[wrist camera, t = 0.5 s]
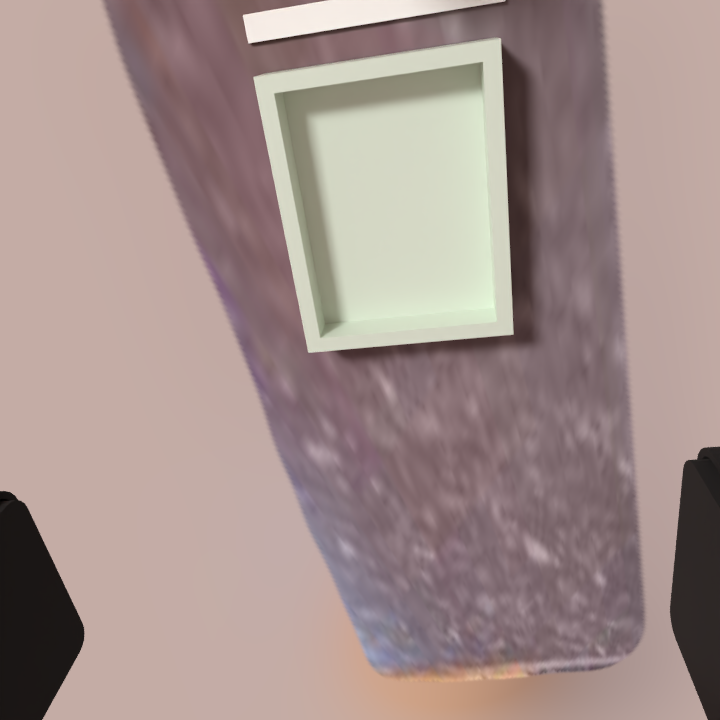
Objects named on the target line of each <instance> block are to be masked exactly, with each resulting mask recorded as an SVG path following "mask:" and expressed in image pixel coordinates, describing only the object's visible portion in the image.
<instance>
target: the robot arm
mask: <svg viewBox="0 0 720 720" xmlns="http://www.w3.org/2000/svg"><path fill="white" fill-rule="evenodd" d="M670 616H671V623H672V628H673V632H674V635H675V638H676V641H677V643H678V646H679V648H680V651H681V653H682V656H683V658H684V661H685V663H686V666H687V668H688V671H689V673H690V676H691V678H692V681H693V683H694V686H695V689H696V691H697V694H698V696H699V698H700V701H701V703H702V706H703V709H704V711H705V714H706V716H707V719H708V720H720V447H710V448H709V447H708V448H703V449H701V450H700V452H699V454H698V458H697V460H688V461H686V462H685V464H684V468H683V478H682V488H681V498H680V509H679V520H678V530H677V540H676V552H675V562H674V572H673V583H672V593H671V605H670ZM83 641H84V627H83V624H82V621H81V619H80V617H79V615H78V613H77V611H76V609H75V606H74V605H73V602H72V600H71V598H70V596H69V594H68V592H67V590H66V588H65V585H64V584H63V581H62V579H61V577H60V575H59V573H58V571H57V569H56V567H55V564H54V562H53V560H52V558H51V556H50V554H49V552H48V550H47V548H46V546H45V544H44V542H43V540H42V537H41V535H40V533H39V531H38V529H37V527H36V525H35V523H34V521H33V519H32V516H31V514H30V512H29V510H28V508H27V506H26V505H25V503H23V502H22V501H19V500H18V499H17V498H16V496H15V495H13V494H12V493H10V492H6V491H0V720H42V719H43V717H44V715H45V714H46V712H47V710H48V708H49V706H50V705H51V703H52V701H53V699H54V697H55V696H56V694H57V692H58V690H59V688H60V686H61V685H62V683H63V681H64V679H65V678H66V676H67V674H68V672H69V670H70V669H71V666H72V665H73V663H74V661H75V659H76V658H77V656H78V654H79V652H80V650H81V647H82V645H83Z"/></svg>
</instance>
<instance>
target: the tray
mask: <svg viewBox="0 0 720 720" xmlns="http://www.w3.org/2000/svg"><path fill="white" fill-rule="evenodd" d="M253 78H254V83H255V88H256V93H257V98H258V103H259V108H260V113H261V118H262V123H263V128H264V133H265V138H266V143H267V148H268V153H269V158H270V163H271V168H272V173H273V178H274V183H275V188H276V193H277V198H278V203H279V208H280V213H281V218H282V223H283V228H284V233H285V238H286V243H287V248H288V253H289V258H290V263H291V268H292V273H293V278H294V283H295V288H296V293H297V298H298V303H299V308H300V313H301V318H302V323H303V328H304V333H305V338H306V343H307V348H308V353H311V352H322V351H334V350H345V349H356V348H367V347H379V346H390V345H401V344H413V343H424V342H435V341H446V340H458V339H469V338H480V337H491V336H503V335H514V334H513V310H512V287H511V263H510V240H509V216H508V193H507V169H506V146H505V122H504V98H503V75H502V51H501V38H496V37H495V38H489V39H483V40H476V41H470V42H463V43H457V44H450V45H444V46H438V47H431V48H425V49H418V50H412V51H406V52H399V53H393V54H386V55H380V56H374V57H367V58H361V59H354V60H348V61H341V62H335V63H329V64H322V65H316V66H309V67H303V68H297V69H290V70H284V71H277V72H271V73H265V74H262V75H259V76H255V77H253Z"/></svg>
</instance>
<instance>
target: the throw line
mask: <svg viewBox="0 0 720 720" xmlns="http://www.w3.org/2000/svg"><path fill="white" fill-rule="evenodd" d="M504 1H506V0H328V1H322V2H316V3H310V4H305V5H299V6H293V7H287V8H281V9H275V10H269V11H264V12H258V13H252V14H246V15H243V19H244V24H245V29H246V34H247V39H248V43H254V42H260V41H266V40H272V39H278V38H284V37H291V36H297V35H303V34H309V33H315V32H321V31H327V30H333V29H339V28H346V27H352V26H358V25H364V24H370V23H376V22H382V21H388V20H394V19H401V18H407V17H413V16H419V15H425V14H431V13H437V12H443V11H449V10H455V9H462V8H468V7H474V6H480V5H486V4H492V3H498V2H504Z"/></svg>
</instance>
